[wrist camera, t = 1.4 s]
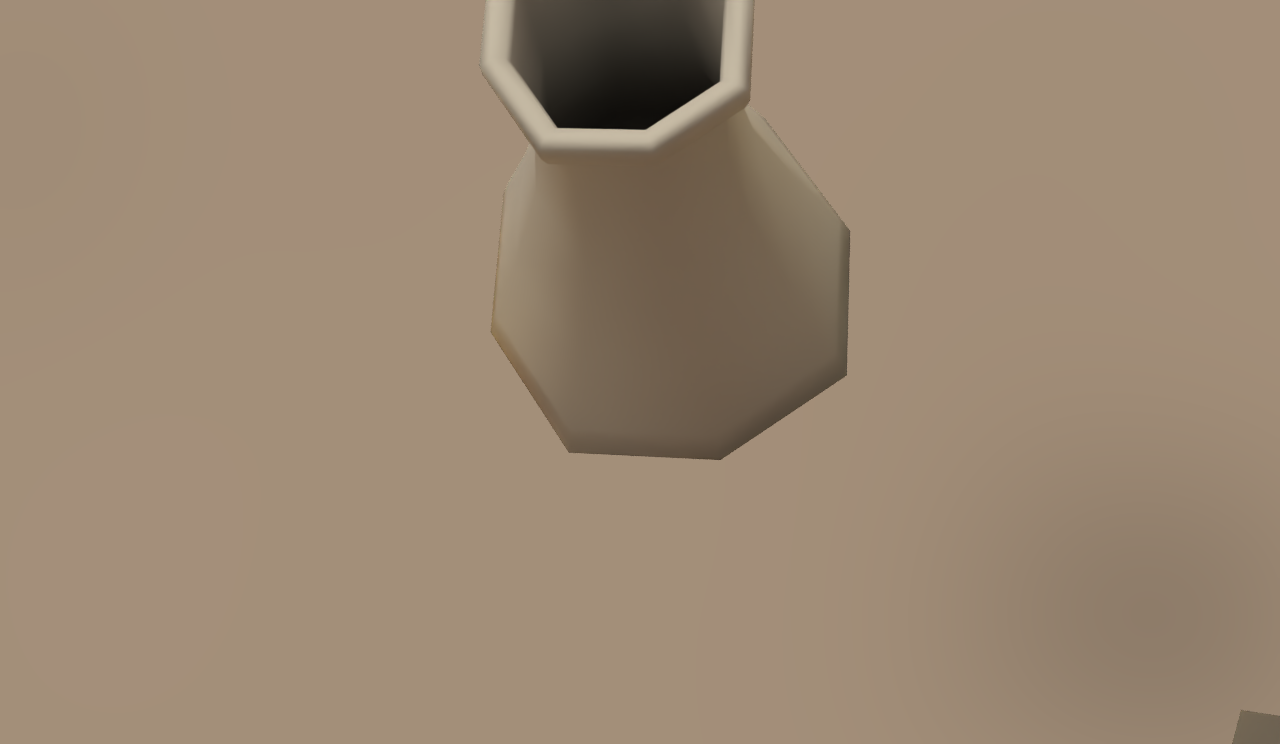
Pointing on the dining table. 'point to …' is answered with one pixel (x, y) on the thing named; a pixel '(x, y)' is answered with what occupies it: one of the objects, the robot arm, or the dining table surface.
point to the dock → (1257, 728)
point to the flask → (657, 230)
